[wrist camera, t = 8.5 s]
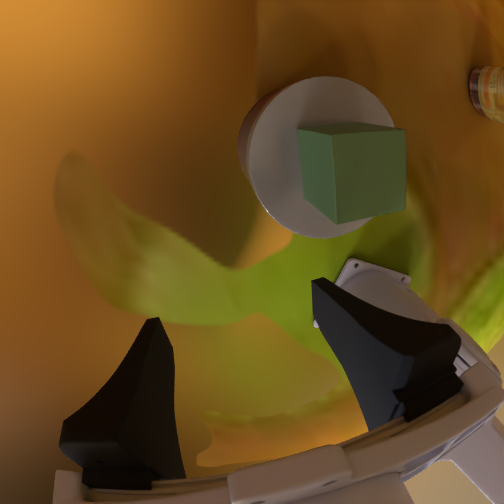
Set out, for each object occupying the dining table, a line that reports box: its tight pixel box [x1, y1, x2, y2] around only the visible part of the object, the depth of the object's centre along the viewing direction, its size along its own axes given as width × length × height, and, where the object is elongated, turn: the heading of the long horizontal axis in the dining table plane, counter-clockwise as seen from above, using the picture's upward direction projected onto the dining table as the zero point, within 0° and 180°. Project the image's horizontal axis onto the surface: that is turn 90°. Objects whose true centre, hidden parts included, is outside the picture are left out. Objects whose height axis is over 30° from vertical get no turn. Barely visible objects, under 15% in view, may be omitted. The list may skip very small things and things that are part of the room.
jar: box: [238, 76, 395, 238], centre depth 18 cm, size 10×10×6 cm
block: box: [297, 122, 406, 225], centre depth 14 cm, size 4×4×4 cm
